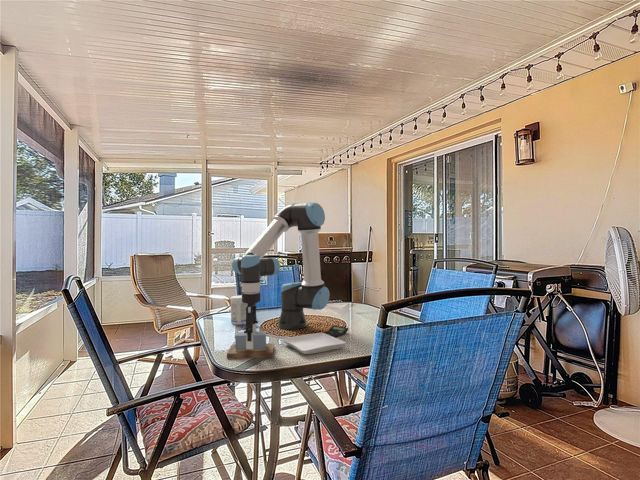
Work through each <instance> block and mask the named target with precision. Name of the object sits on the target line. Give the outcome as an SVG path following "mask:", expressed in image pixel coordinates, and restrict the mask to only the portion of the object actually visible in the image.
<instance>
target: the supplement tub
mask: <svg viewBox="0 0 640 480" xmlns="http://www.w3.org/2000/svg"><path fill="white" fill-rule="evenodd" d="M247 306H248V304H247V303H243V302H242V294H241V295H233V296H230V323H231V324H232V325H237V326H241V325H246V307H247Z"/></svg>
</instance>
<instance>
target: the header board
mask: <svg viewBox="0 0 640 480" xmlns="http://www.w3.org/2000/svg"><path fill="white" fill-rule="evenodd" d="M274 352H275V343H266V349H265V350H236V351H235V344H231V345H230V347H229V349H228V351H227V353H226V359H227V358H234V359H260V358H274Z"/></svg>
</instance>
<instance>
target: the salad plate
mask: <svg viewBox="0 0 640 480" xmlns="http://www.w3.org/2000/svg"><path fill="white" fill-rule="evenodd" d="M282 342H284V344H286V345H288V346H289V347H291V348H293V349H294V350H295V351H296V350H297V351H298V352H300V353H301V354H303V355H313V354H318V353H324V352H325V353H326V352H331V351H335V350H337V349H340V348H342V347H344V346H345V345H346V344H347V342H346V341H345V340H342V339H339V338H338V337H337V338H335V337H332V336H330V335H328V334H325V333H323V332H316V333H308V334H303V335H302V334H301V335H296V336H289V337H285V338H282Z"/></svg>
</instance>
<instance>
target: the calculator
mask: <svg viewBox="0 0 640 480" xmlns="http://www.w3.org/2000/svg"><path fill="white" fill-rule="evenodd" d="M348 331H349V328H348V327H344V326H339V325H335V324H333V325H331V327H330V328H329V329H328V330H326V331H324V332H322V333H325V334H328V335H330V336H332V337H335V338H337V339H338V338H339V337H341V336H344V335H345V334H346V333H347V332H348Z"/></svg>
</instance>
